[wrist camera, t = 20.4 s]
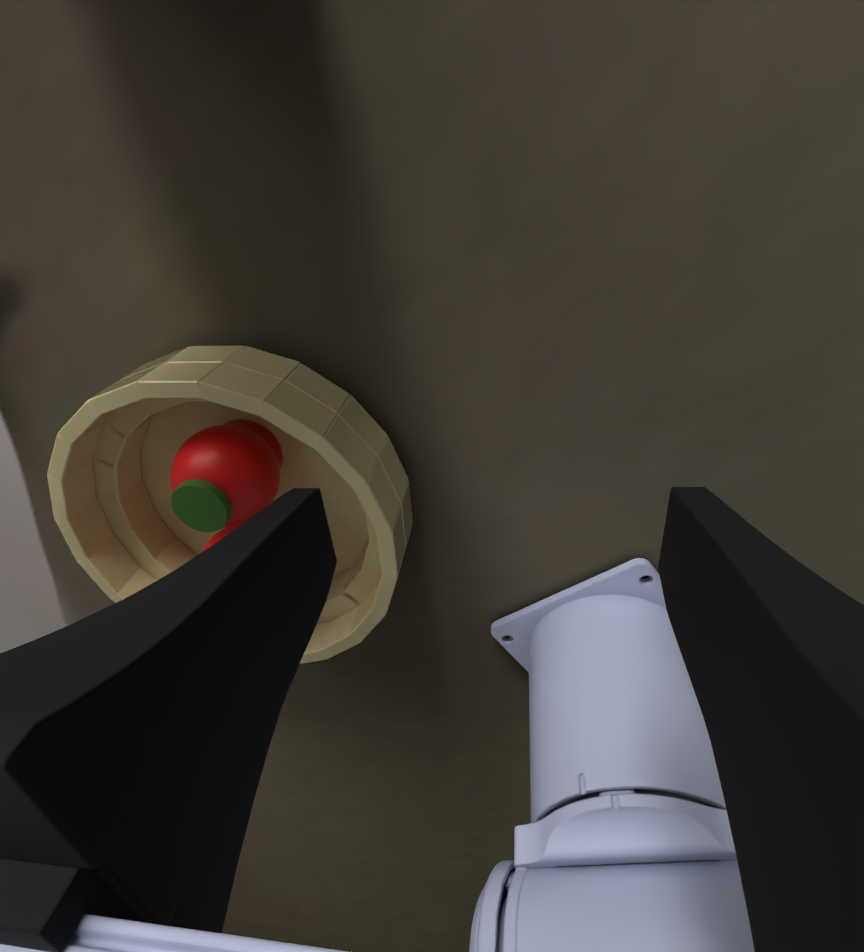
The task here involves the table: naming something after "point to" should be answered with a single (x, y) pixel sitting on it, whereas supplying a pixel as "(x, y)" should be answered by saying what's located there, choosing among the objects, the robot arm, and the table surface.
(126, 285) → the table surface
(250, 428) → the strawberry
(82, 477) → the bowl
